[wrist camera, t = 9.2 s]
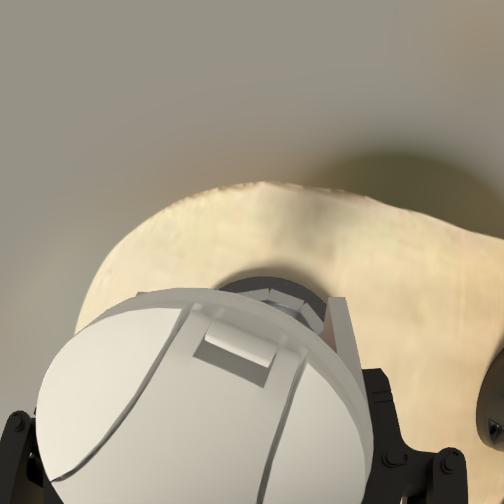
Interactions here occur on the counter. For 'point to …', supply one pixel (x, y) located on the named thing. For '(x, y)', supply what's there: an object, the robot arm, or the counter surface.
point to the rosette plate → (284, 299)
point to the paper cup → (202, 408)
